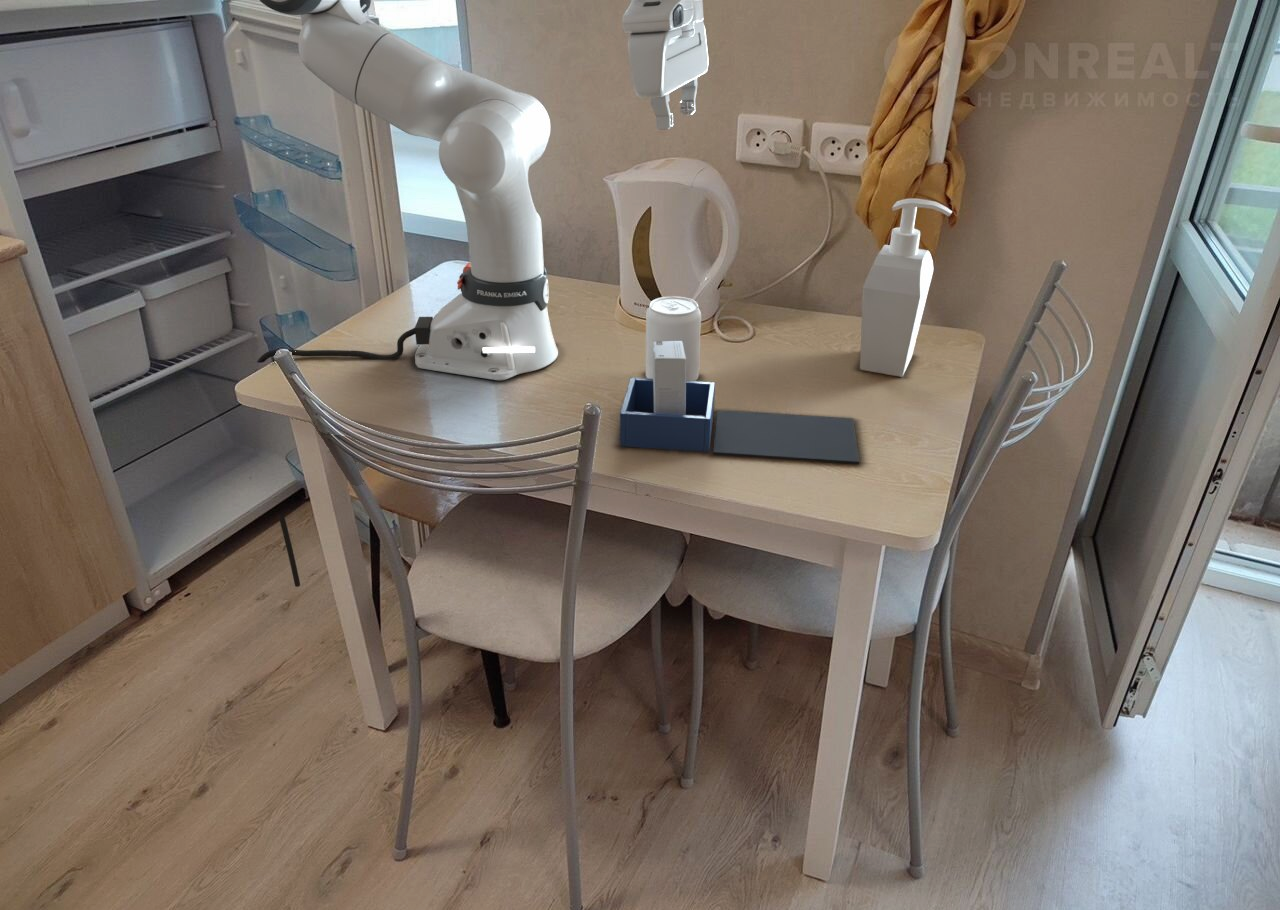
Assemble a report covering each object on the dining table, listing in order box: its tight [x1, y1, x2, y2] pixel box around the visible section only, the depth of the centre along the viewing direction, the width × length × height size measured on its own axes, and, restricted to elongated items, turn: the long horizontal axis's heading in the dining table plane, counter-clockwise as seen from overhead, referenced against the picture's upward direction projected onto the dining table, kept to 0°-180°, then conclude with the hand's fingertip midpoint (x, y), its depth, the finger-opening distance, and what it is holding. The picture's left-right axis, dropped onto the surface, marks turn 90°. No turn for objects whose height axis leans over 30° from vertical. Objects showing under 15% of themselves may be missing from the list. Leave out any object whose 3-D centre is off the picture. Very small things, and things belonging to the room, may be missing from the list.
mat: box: [712, 409, 860, 465], centre depth 128 cm, size 19×12×1 cm, turn 83°
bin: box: [619, 377, 716, 453], centre depth 128 cm, size 12×11×5 cm
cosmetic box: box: [653, 341, 687, 415], centre depth 127 cm, size 6×4×12 cm
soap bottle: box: [859, 197, 953, 378], centre depth 142 cm, size 12×10×26 cm
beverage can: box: [645, 295, 702, 381], centre depth 140 cm, size 8×8×12 cm
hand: (677, 121), depth 127 cm, fingers open, 8 cm apart
